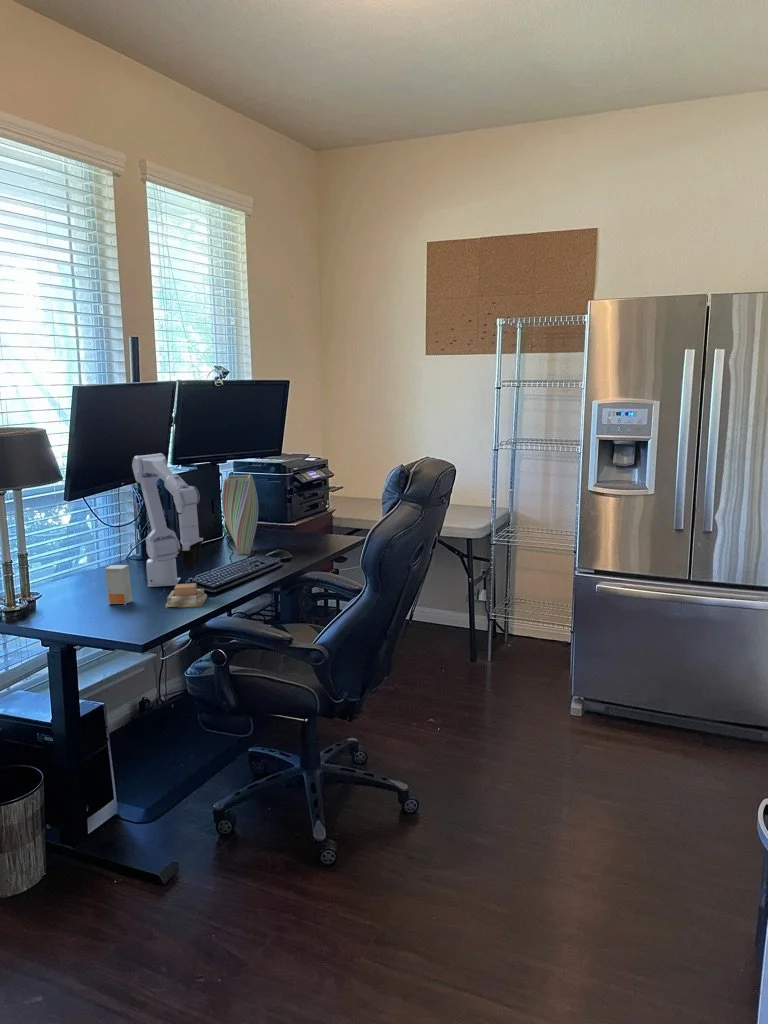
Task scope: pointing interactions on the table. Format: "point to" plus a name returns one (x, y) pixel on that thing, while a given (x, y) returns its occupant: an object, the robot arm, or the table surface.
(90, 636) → the table surface
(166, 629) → the table surface
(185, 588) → the keyed block
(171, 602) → the stand
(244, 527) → the vase
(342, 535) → the table surface
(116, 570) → the skincare box
